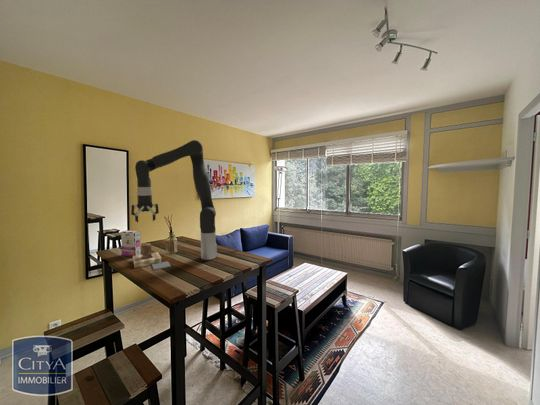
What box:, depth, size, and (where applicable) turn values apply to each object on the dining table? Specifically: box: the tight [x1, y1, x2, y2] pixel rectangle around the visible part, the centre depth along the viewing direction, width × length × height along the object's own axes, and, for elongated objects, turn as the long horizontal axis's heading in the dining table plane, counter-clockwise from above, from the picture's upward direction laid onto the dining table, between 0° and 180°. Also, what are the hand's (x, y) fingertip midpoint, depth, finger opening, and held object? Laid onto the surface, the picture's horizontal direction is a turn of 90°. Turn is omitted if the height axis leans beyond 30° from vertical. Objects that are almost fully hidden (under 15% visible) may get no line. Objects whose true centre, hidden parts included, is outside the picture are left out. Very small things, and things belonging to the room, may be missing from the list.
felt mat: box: [151, 261, 172, 271], centre depth 130 cm, size 9×9×1 cm
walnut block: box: [141, 242, 152, 259], centre depth 136 cm, size 4×4×11 cm
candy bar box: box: [120, 229, 142, 258], centre depth 147 cm, size 11×5×16 cm, turn 76°
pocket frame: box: [132, 251, 163, 269], centre depth 137 cm, size 14×14×3 cm
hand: (145, 221), depth 134 cm, fingers open, 8 cm apart
